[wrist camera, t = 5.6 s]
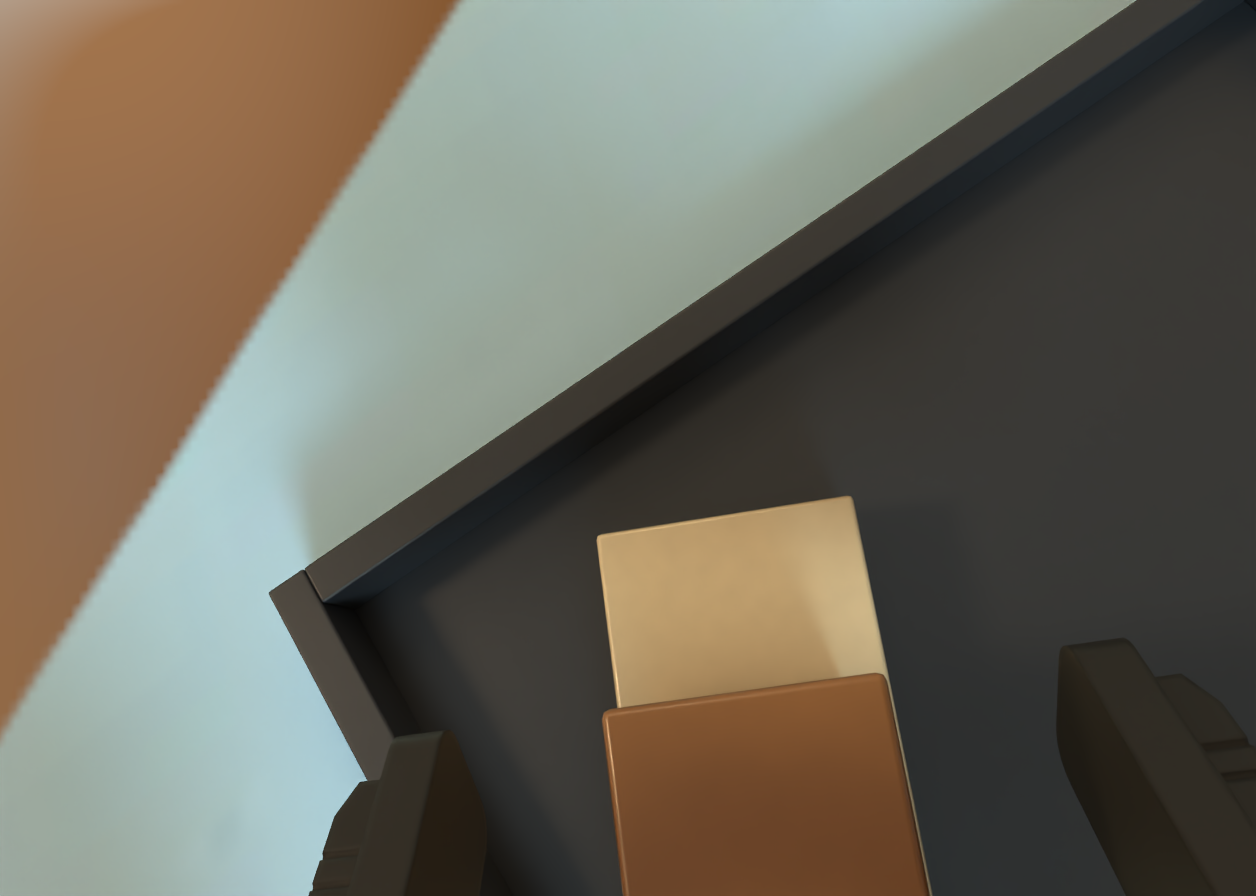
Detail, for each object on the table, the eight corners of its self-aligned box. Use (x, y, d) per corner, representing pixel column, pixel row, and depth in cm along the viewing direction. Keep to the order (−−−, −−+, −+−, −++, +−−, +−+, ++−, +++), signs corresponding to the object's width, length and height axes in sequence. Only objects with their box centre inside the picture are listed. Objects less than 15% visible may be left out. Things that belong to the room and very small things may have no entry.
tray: (1233, -24, 20) (1284, -103, 18) (1913, 576, 16) (2079, 560, 14) (317, 602, 20) (266, 592, 18) (756, 1407, 15) (754, 1515, 13)
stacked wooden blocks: (612, 550, 19) (502, 449, 11) (843, 515, 18) (899, 383, 10) (679, 1070, 16) (599, 1412, 8) (948, 1045, 16) (1120, 1381, 8)
